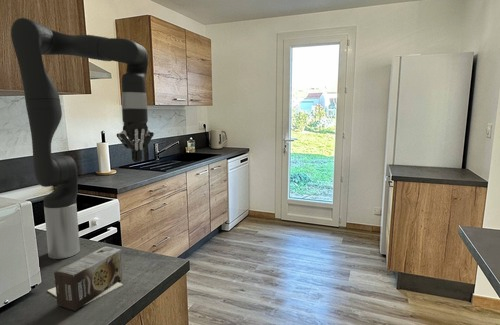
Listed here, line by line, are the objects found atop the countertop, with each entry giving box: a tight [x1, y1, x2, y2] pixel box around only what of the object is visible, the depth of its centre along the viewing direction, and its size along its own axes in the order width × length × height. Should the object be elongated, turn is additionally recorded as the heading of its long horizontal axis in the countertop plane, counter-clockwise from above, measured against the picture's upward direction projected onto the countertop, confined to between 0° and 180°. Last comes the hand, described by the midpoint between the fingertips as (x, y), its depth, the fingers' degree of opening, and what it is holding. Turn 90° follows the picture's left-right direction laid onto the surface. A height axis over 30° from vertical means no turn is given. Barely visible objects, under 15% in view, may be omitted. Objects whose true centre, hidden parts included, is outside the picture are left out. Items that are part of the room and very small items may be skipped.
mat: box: [47, 281, 124, 307], centre depth 85 cm, size 14×13×1 cm
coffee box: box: [53, 246, 124, 311], centre depth 82 cm, size 9×6×16 cm
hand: (137, 161), depth 101 cm, fingers closed
